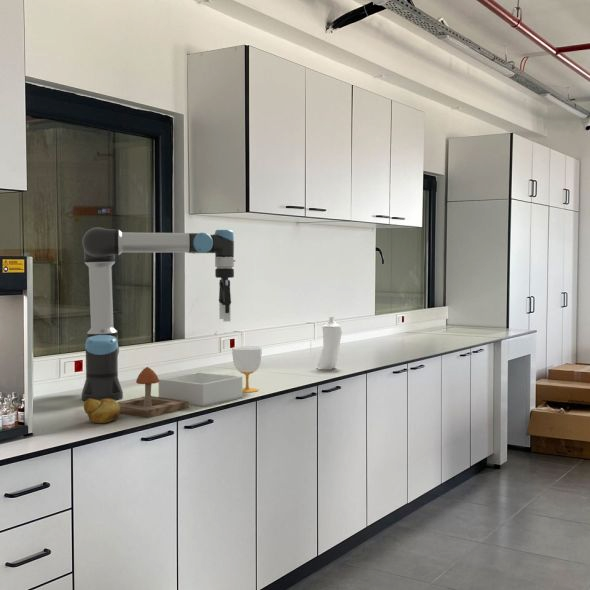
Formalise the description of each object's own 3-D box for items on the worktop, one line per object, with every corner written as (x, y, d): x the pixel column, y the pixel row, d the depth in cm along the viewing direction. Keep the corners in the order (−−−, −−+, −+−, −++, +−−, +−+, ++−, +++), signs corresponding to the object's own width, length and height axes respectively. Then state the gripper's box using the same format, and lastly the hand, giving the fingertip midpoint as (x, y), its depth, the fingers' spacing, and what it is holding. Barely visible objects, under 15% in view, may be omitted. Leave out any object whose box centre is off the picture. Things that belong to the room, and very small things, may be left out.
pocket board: (147, 417, 248) (147, 410, 248) (106, 411, 260) (106, 404, 259) (189, 408, 264) (189, 401, 264) (148, 402, 276) (148, 395, 276)
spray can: (336, 366, 372) (336, 315, 371) (344, 369, 362) (344, 317, 361) (314, 367, 368) (313, 316, 367) (321, 370, 358) (321, 317, 357)
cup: (228, 389, 304) (228, 347, 304) (255, 387, 309) (255, 345, 308) (238, 393, 293) (237, 350, 293) (266, 391, 298) (265, 348, 297)
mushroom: (151, 406, 268) (150, 364, 267) (164, 409, 262) (163, 366, 261) (131, 409, 262) (131, 366, 261) (144, 413, 256) (144, 369, 256)
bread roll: (105, 416, 252) (104, 392, 252) (129, 418, 249) (129, 393, 248) (80, 423, 240) (80, 398, 240) (106, 425, 237) (106, 400, 236)
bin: (203, 406, 267) (203, 384, 266) (158, 400, 279) (158, 379, 279) (242, 397, 285) (242, 376, 284) (198, 392, 297) (198, 372, 297)
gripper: (238, 268, 294) (238, 322, 295) (229, 267, 319) (230, 317, 320) (218, 268, 293) (219, 322, 294) (212, 267, 317) (212, 318, 318)
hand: (224, 320), depth 307 cm, fingers open, 13 cm apart
